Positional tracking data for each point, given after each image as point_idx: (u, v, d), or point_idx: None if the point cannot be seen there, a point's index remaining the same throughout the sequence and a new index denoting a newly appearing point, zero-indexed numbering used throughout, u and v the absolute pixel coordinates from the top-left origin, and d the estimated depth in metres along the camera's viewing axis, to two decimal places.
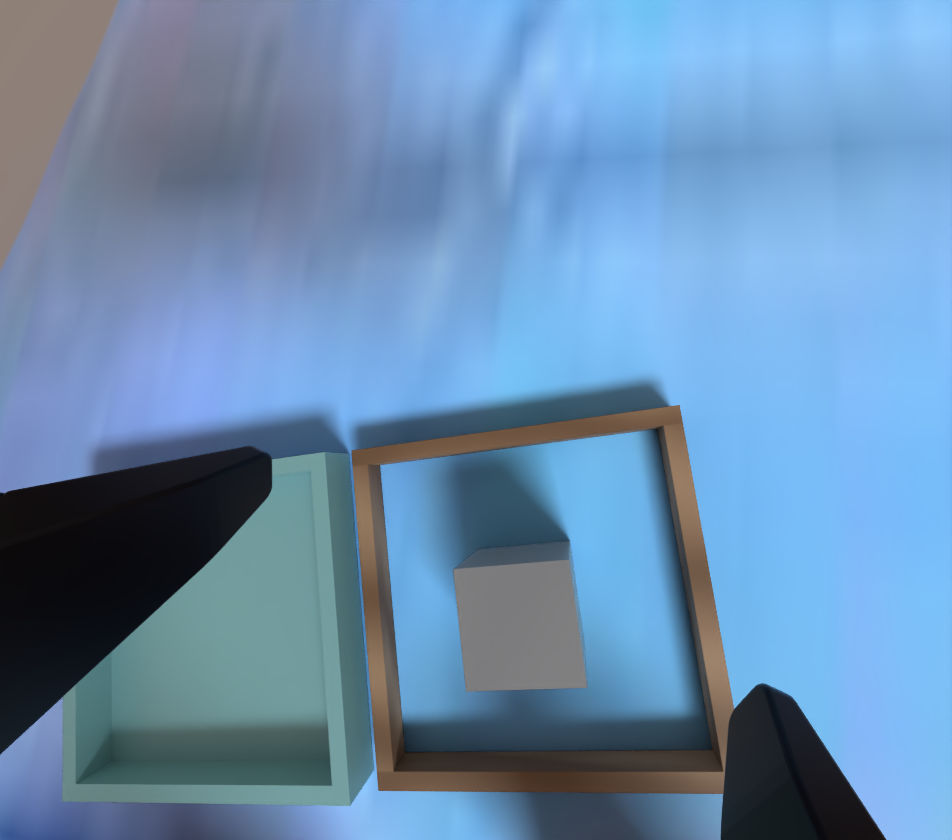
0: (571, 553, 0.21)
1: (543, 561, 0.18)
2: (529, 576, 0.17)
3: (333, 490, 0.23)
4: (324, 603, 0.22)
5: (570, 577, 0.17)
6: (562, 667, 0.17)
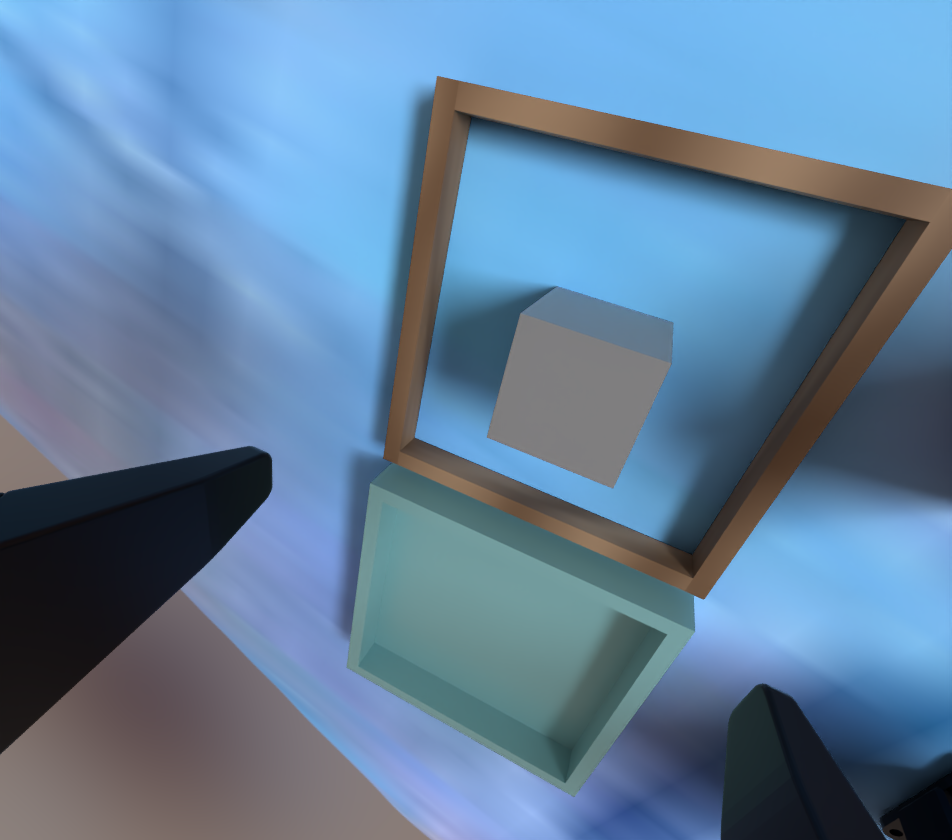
0: (566, 292, 0.17)
1: (513, 342, 0.14)
2: (522, 365, 0.14)
3: (409, 491, 0.23)
4: (499, 552, 0.21)
5: (540, 321, 0.14)
6: (635, 379, 0.13)
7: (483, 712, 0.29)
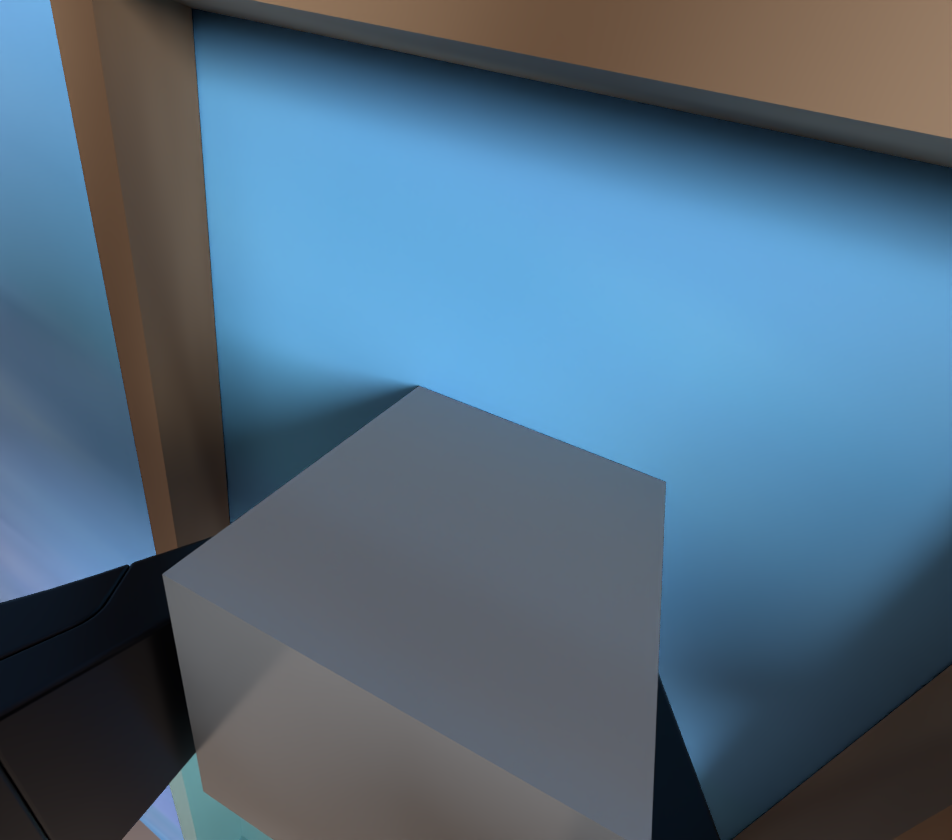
0: (425, 410, 0.08)
1: None
2: (217, 693, 0.05)
3: None
4: None
5: (219, 607, 0.04)
6: (525, 838, 0.04)
7: None
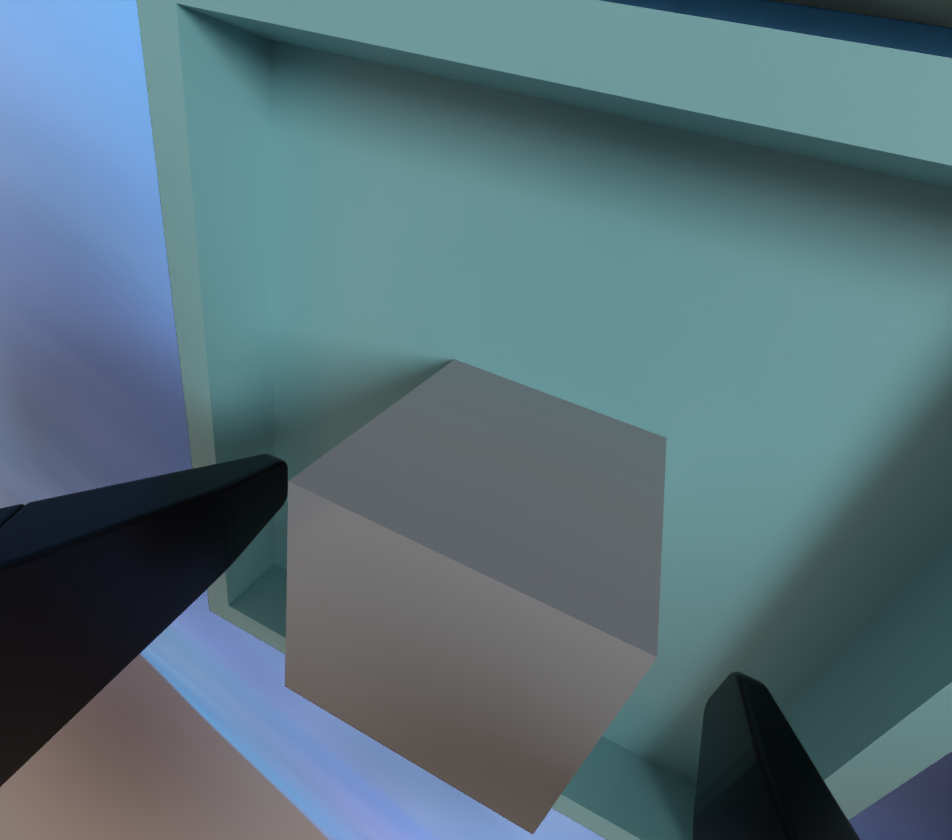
0: (463, 377, 0.09)
1: None
2: (317, 584, 0.06)
3: None
4: (580, 61, 0.05)
5: (333, 504, 0.05)
6: (564, 667, 0.05)
7: None
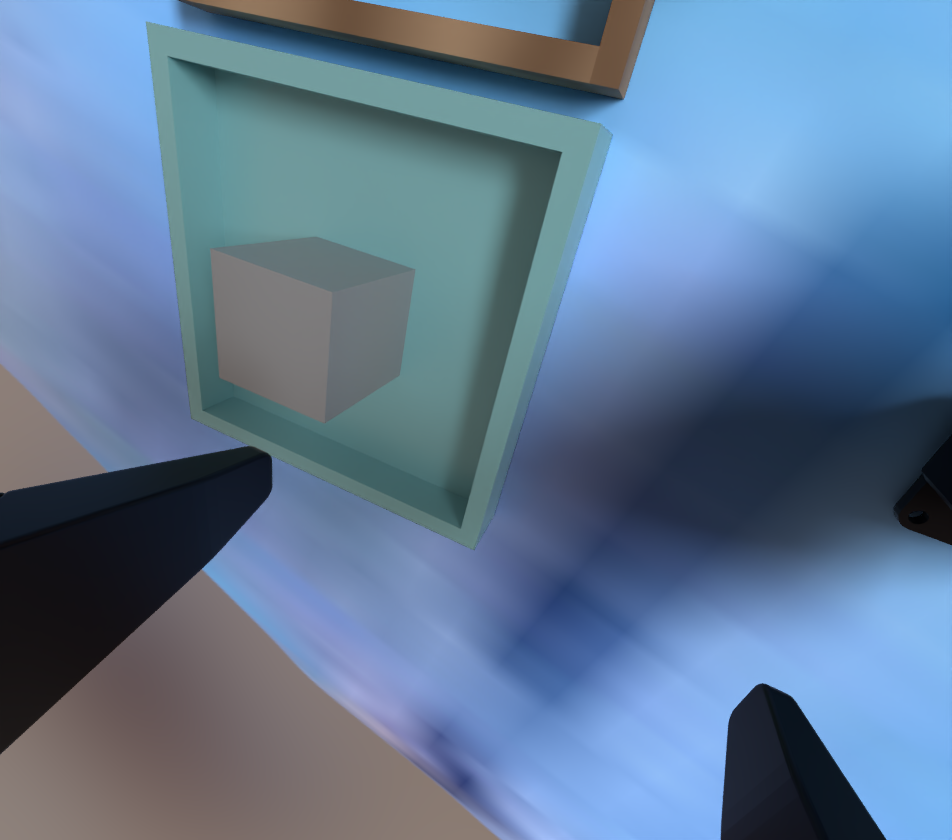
0: (315, 241, 0.18)
1: (215, 279, 0.15)
2: (225, 302, 0.15)
3: None
4: (321, 83, 0.14)
5: (227, 255, 0.14)
6: (310, 310, 0.14)
7: (363, 462, 0.22)
